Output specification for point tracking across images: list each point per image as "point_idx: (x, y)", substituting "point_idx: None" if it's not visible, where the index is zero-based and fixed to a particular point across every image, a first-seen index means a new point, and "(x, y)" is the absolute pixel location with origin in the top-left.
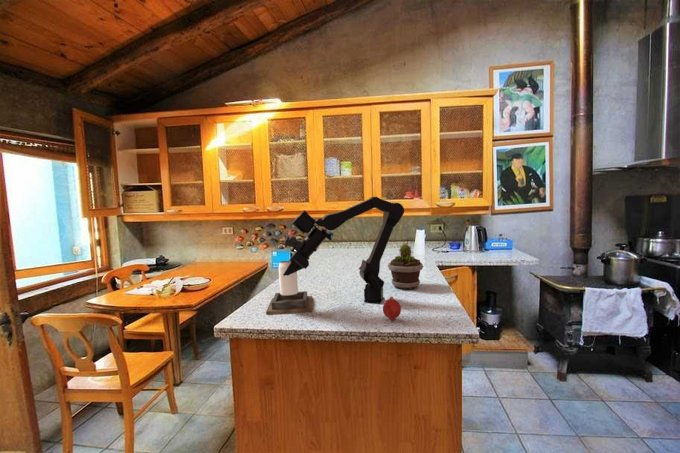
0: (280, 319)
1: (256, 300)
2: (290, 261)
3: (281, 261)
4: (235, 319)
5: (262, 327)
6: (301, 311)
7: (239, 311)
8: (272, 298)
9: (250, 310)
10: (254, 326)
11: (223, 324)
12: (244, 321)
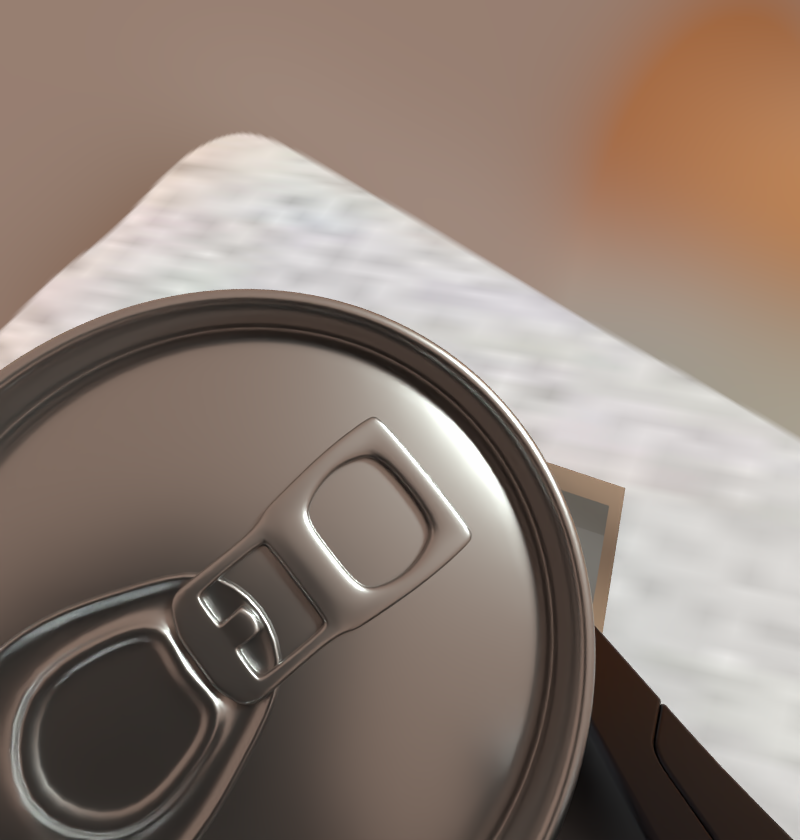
0: None
1: (660, 380)
2: (512, 830)
3: (504, 418)
4: (306, 203)
5: (44, 315)
6: None
7: (452, 244)
8: (612, 488)
9: (439, 306)
10: (100, 276)
11: (256, 141)
12: (235, 241)
